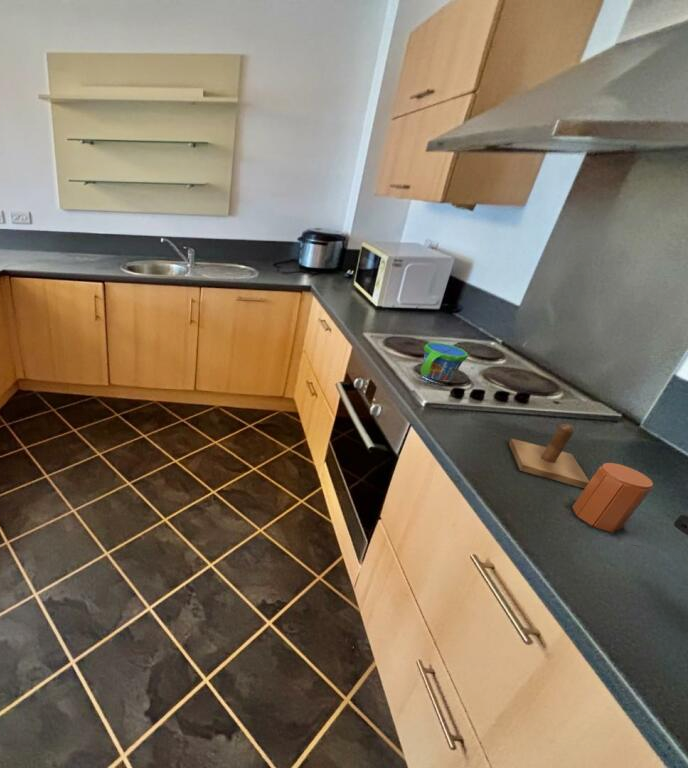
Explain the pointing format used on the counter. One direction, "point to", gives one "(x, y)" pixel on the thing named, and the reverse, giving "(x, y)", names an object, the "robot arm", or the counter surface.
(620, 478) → the terracotta cup
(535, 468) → the stand
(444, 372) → the snack cup
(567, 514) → the counter surface
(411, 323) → the counter surface
